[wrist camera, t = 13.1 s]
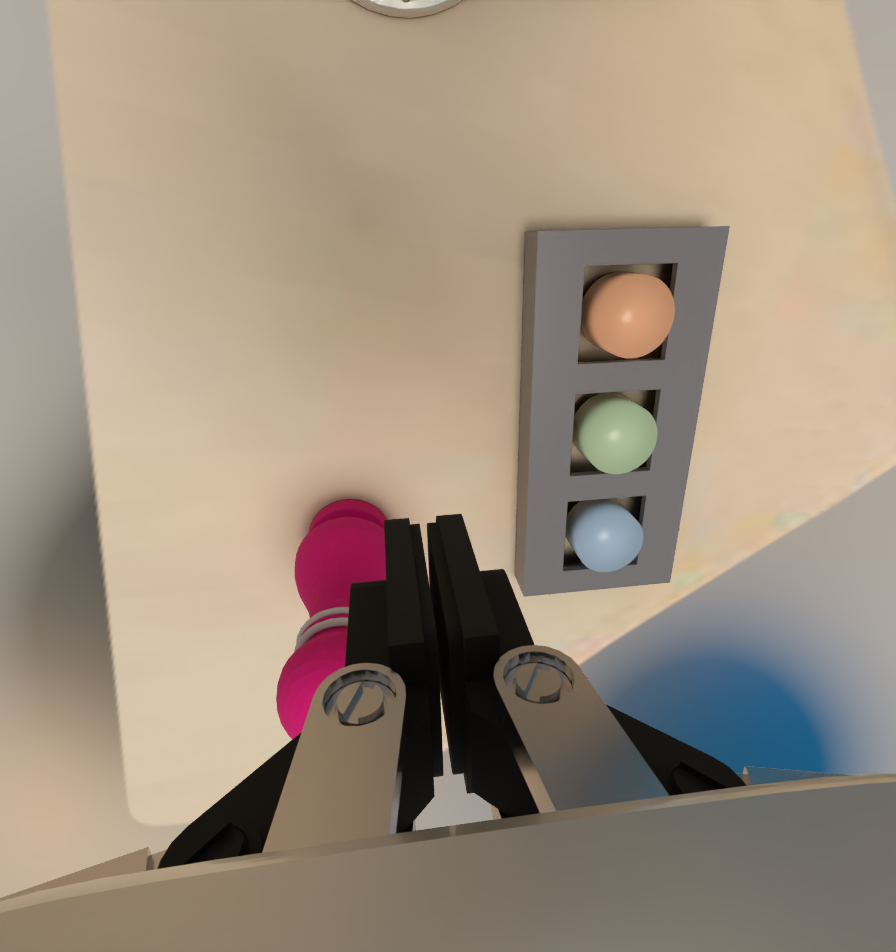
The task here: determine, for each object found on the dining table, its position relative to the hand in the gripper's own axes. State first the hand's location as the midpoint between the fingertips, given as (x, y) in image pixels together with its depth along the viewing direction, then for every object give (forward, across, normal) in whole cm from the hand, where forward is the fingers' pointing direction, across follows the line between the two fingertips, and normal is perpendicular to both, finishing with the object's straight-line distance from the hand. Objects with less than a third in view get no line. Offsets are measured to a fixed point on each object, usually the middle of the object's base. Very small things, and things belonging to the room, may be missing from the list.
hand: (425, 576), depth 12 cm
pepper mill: (+27, +4, +14) cm, 31 cm away
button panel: (+27, -15, +6) cm, 32 cm away
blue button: (+26, -15, +14) cm, 33 cm away
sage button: (+26, -15, +6) cm, 30 cm away
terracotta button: (+26, -15, -2) cm, 30 cm away
